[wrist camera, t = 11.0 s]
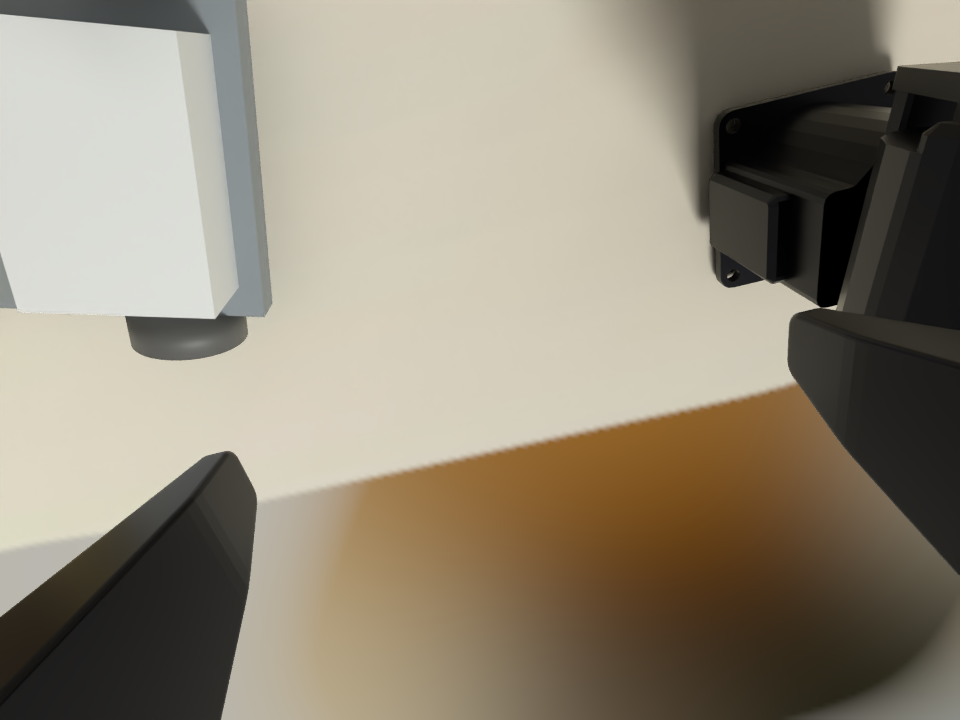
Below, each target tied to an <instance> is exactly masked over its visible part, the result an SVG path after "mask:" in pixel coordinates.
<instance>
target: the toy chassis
mask: <svg viewBox="0 0 960 720" xmlns="http://www.w3.org/2000/svg"><path fill="white" fill-rule="evenodd" d="M271 305H272V294H271V283H270V271H269V259H268V248H267V236H266V225H265V213H264V201H263V190H262V178H261V166H260V155H259V143H258V131H257V120H256V108H255V97H254V85H253V73H252V62H251V50H250V38H249V27H248V15H247V3H246V0H0V308H16V309H17V310H18V312H24V313H54V314H84V315H113V316H125V318H126V322H127V327H128V332H129V336H130V341H131V346H132V348H133V349H134V350H135V351H136V352H138V353H139V354H141V355H144V356H147V357H150V358H155V359H161V360H191V359H199V358H205V357H210V356H214V355H217V354H221V353H223V352H226V351H228V350H231V349H233V348H235V347H236V346H238V345H239V344H241V343H242V342H243V341H244V340H245V339H246V337H247V335H248V330H247V320H246V316H248V317H265V315H266V313H267V312H268V310H269V308H270V306H271Z"/></svg>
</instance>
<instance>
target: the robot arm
mask: <svg viewBox="0 0 960 720" xmlns="http://www.w3.org/2000/svg"><path fill="white" fill-rule="evenodd" d="M888 81H890V88H889V90H888V91H887V92H886V93H884V88H885V85H886V84H887V83H888ZM732 118H733V119H734V121H735V125H734V128H733V129H732V130H731V131H730V132H727V130H726V125H727V123H728V121H729V120H730V119H732ZM709 202H710V243H711V245H712V246H713V247H714V248H716V277H717V280H718V281H719V282H720V283H721V284H722V285H724V286H726V287H728V288H731V287H737V286H741V285H745V284H750V283H754V282H758V281H762V280H766V281H768V282H769V283H771V284H774V283H779V282H780V283H782V284H784V285H785V286H787V287H788V288H790V289H792V290H793V291H795V292H796V293H798V294H800V295H801V296H803V297H805V298H806V299H808V300H809V301H811V302H813V303H814V304H816V305H818V306H819V307H821V308H817V309H812V310H808V311H804V312H800V313H797V314H795V315H794V316H793V317H792V318H791V320H790V323H789V338H788V358H787V359H788V367H789V370H790V372H791V374H792V376H793V377H794V379H795V380H796V382H797V383H798V384H799V386H800V387H801V389H802V390H803V391H804V393H805V394H806V396H807V397H808V398H809V400H810V401H811V403H812V404H813V405H814V407H815V408H816V410H817V411H818V412H819V414H820V415H821V417H822V418H823V419H824V421H825V422H826V423H827V425H828V426H829V428H830V429H831V431H832V432H833V433H834V435H835V436H836V437H837V439H838V440H839V441H840V442H841V444H842V445H843V447H844V448H845V449H846V450H847V451H848V452H849V454H850V455H851V456H852V457H853V458H854V460H855V461H856V462H857V463H858V464H859V465H860V466H861V467H862V468H863V469H864V471H865V472H866V473H867V474H868V475H869V476H870V477H871V478H872V480H873V481H874V482H875V483H876V484H877V485H878V486H879V487H880V488H881V490H882V491H883V492H884V493H885V494H886V495H887V496H888V497H889V499H890V500H891V501H892V502H893V503H894V504H895V505H896V506H897V507H898V509H899V510H900V511H901V512H902V513H903V514H904V515H905V516H906V517H907V519H908V520H909V521H910V522H911V523H912V524H913V525H914V526H915V527H916V529H917V530H918V531H919V532H920V533H921V534H922V535H923V536H924V537H925V539H926V540H927V541H928V542H929V543H930V544H931V545H932V546H933V547H934V549H935V550H936V551H937V552H938V553H939V554H940V555H941V556H942V558H944V560H945V561H946V562H947V563H948V564H949V565H950V567H952V569H953V570H954V571H955V572H956V573H957V574H958V575H959V577H960V62H950V63H934V64H919V65H903V66H898V68H897V71H883V72H879V73H875V74H871V75H867V76H863V77H859V78H854V79H850V80H846V81H842V82H838V83H834V84H830V85H826V86H822V87H817V88H813V89H809V90H805V91H801V92H797V93H793V94H789V95H785V96H780V97H776V98H772V99H768V100H764V101H760V102H756V103H752V104H747V105H743V106H739V107H735V108H731V109H727V110H725V111H723V112H721V113H720V114H719V115H718V116H717V118H716V120H715V122H714V174H713V176H712V177H711V179H710V181H709ZM733 269H735V272H734V274H733V276H732V277H730V278H727V275H728V273H729V272H730V271H731V270H733ZM835 305H837V309H836V310H830V309H824V308H826V307H830V306H835ZM256 510H257V497H256V493H255V490H254V487H253V486H252V484H251V482H250V480H249V478H248V476H247V474H246V472H245V470H244V468H243V467H242V465H241V463H240V461H239V459H238V457H237V456H236V455H235V454H234V453H233V452H230V451H224V452H220V453H216V454H212V455H208V456H205V457H203V458H202V459H201V460H199V461H198V462H197V463H196V464H194V465H193V466H192V467H190V468H189V469H188V470H187V471H185V472H184V473H183V474H182V475H180V476H179V477H178V478H176V479H175V480H174V481H173V482H171V483H170V484H169V485H168V486H166V487H165V488H164V489H162V490H161V491H160V492H159V493H157V494H156V495H155V496H154V497H152V498H151V499H150V500H149V501H147V502H146V503H145V504H143V505H142V506H141V507H140V508H138V509H137V510H136V511H135V512H133V513H132V514H131V515H129V516H128V517H127V518H126V519H124V520H123V521H122V522H121V523H119V524H118V525H117V526H115V527H114V528H113V529H112V530H110V531H109V532H108V533H107V534H105V535H104V536H103V537H101V538H100V539H99V540H98V541H96V542H95V543H94V544H93V545H91V546H90V547H89V548H87V549H86V550H85V551H84V552H82V553H81V554H80V555H79V556H77V557H76V558H75V559H73V560H72V561H71V562H70V563H69V564H67V565H66V566H65V567H64V568H62V569H61V570H59V571H58V572H57V573H56V574H54V575H53V576H52V577H51V578H49V579H48V580H47V581H45V582H44V583H43V584H42V585H40V586H39V587H38V588H37V589H35V590H34V591H33V592H32V593H30V594H29V595H28V596H26V597H25V598H24V599H23V600H21V601H20V602H19V603H17V604H16V605H15V606H14V607H12V608H11V609H10V610H9V611H8V612H6V613H5V614H4V615H2V616H1V617H0V720H221V716H222V711H223V707H224V703H225V698H226V693H227V689H228V684H229V679H230V674H231V670H232V665H233V661H234V656H235V651H236V646H237V642H238V637H239V632H240V628H241V623H242V618H243V614H244V610H245V605H246V600H247V594H248V589H249V581H250V572H251V562H252V552H253V542H254V531H255V521H256Z"/></svg>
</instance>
